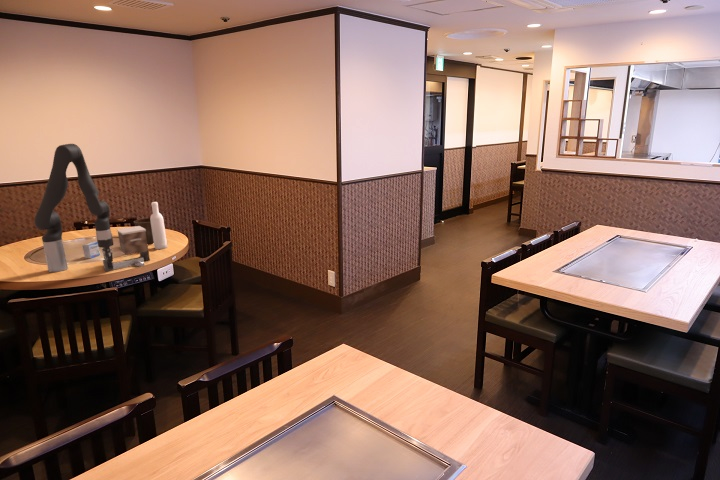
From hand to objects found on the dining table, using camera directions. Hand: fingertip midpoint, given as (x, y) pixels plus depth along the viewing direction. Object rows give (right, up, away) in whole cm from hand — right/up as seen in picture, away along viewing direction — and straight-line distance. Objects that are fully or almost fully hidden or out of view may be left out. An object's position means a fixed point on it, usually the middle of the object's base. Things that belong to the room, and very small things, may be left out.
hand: (109, 267), depth 261 cm
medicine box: (-26, +5, +29) cm, 39 cm away
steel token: (+13, +1, +7) cm, 15 cm away
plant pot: (-4, +13, +57) cm, 59 cm away
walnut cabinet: (+6, +3, +17) cm, 19 cm away
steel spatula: (+6, 0, +5) cm, 8 cm away
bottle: (+10, +10, +44) cm, 46 cm away
